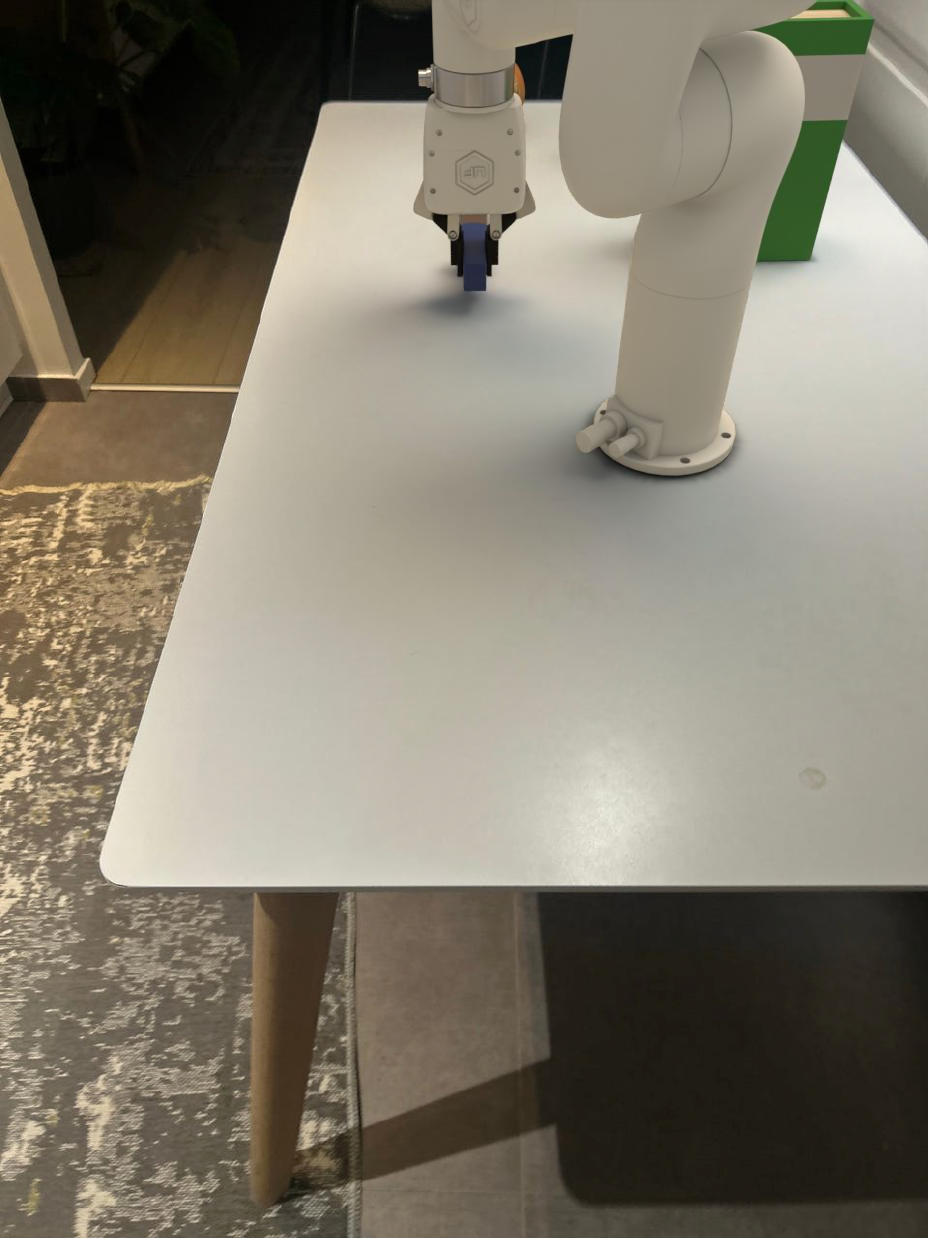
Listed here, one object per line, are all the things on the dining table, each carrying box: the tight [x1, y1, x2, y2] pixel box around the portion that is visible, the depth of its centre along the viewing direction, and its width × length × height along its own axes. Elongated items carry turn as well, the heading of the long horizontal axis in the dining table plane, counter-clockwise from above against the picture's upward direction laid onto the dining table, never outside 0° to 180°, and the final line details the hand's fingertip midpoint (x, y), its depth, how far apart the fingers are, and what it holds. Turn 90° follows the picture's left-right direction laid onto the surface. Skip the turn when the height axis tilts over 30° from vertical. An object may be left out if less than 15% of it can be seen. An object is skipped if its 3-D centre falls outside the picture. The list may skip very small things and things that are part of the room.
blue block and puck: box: [460, 222, 488, 292], centre depth 100 cm, size 12×4×3 cm, turn 0°
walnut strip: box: [461, 214, 488, 225], centre depth 114 cm, size 18×3×2 cm, turn 0°
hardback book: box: [748, 0, 876, 262], centre depth 100 cm, size 18×7×24 cm, turn 91°
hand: (474, 269), depth 100 cm, fingers closed on blue block and puck, 2 cm apart
